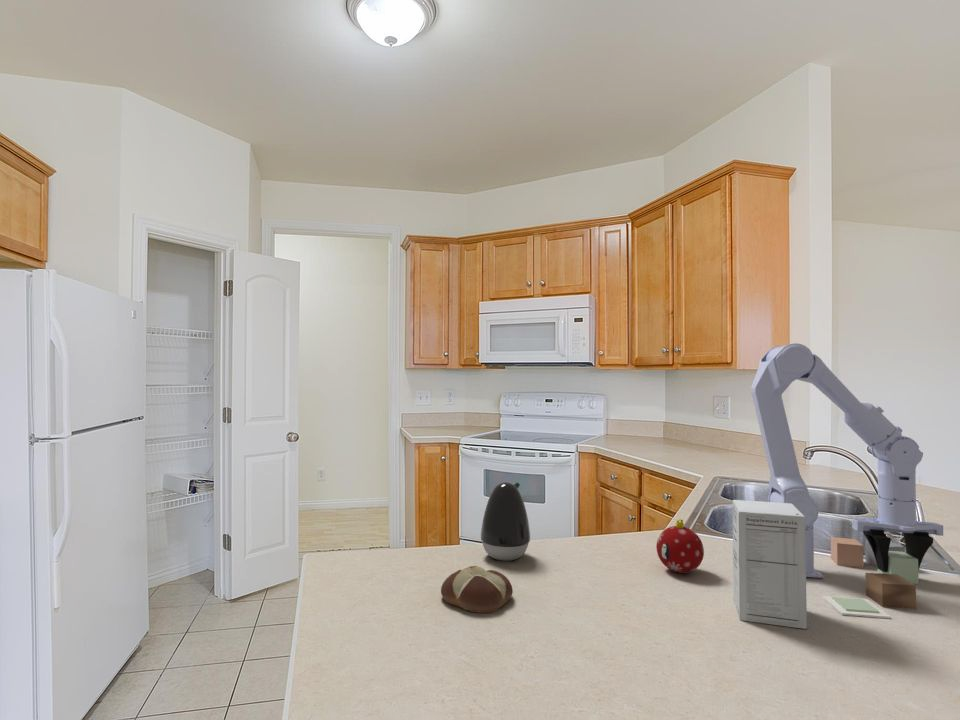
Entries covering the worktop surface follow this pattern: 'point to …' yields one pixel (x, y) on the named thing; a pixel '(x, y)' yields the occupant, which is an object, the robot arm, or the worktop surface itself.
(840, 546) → the terracotta block
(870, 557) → the slate grey block
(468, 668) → the worktop surface
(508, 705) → the worktop surface
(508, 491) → the black egg-shaped figure
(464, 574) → the bread
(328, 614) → the worktop surface
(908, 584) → the walnut base block
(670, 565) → the christmas ornament
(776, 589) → the supplement box
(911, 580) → the sage block
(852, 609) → the swatch
